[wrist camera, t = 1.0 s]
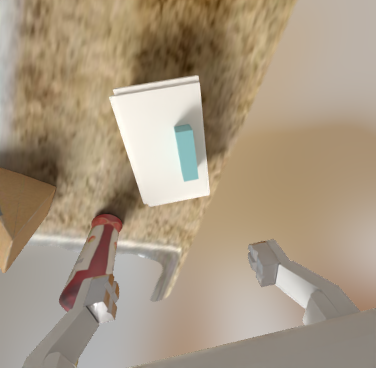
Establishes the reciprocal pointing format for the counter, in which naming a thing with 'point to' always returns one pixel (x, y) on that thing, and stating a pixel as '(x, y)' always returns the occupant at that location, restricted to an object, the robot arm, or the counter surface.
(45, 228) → the counter surface
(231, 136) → the counter surface
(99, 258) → the liquor
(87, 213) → the counter surface
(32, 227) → the sandwich container
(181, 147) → the lid
